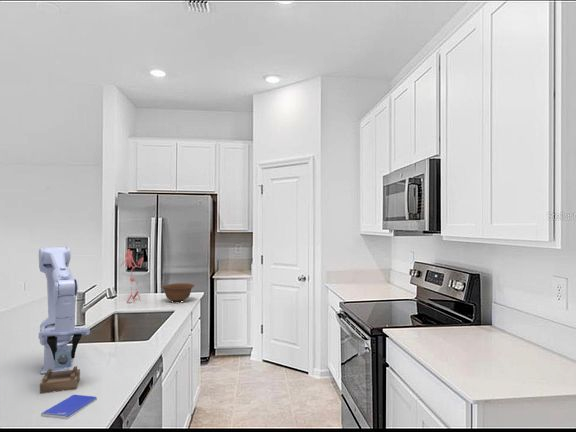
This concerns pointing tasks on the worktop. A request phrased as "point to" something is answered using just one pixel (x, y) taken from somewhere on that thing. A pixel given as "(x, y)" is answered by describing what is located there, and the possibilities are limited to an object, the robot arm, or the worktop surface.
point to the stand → (60, 380)
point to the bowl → (178, 291)
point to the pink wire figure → (128, 261)
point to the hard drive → (69, 407)
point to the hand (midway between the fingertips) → (64, 358)
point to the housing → (63, 356)
